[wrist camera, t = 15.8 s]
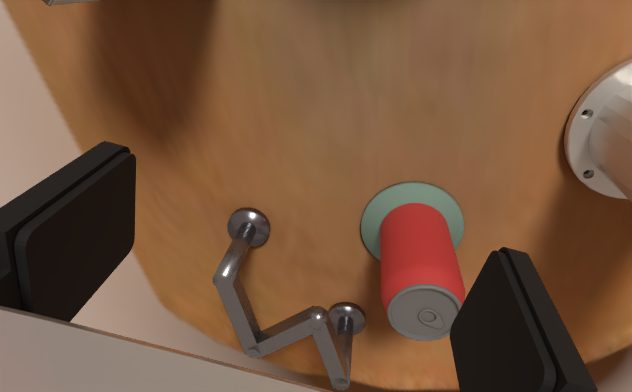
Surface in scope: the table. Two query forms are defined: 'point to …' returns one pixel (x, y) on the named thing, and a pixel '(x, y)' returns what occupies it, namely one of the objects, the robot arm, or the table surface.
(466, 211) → the table surface
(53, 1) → the coffee box
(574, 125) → the robot arm
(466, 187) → the table surface
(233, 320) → the zigzag metal bar linkage
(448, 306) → the beer can
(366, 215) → the coaster
